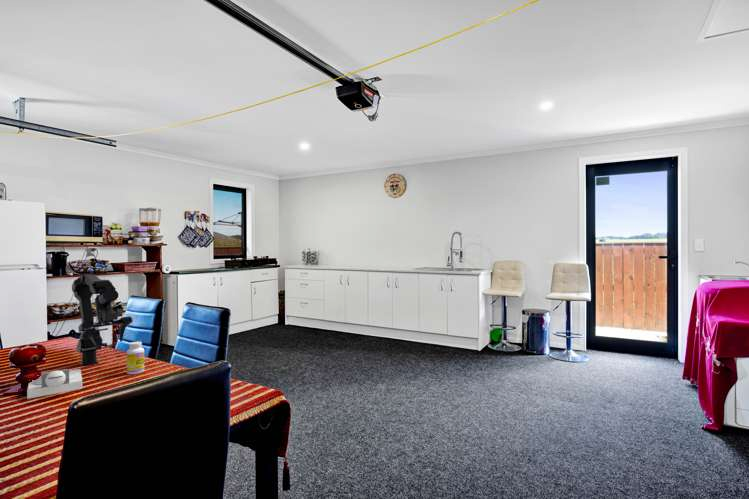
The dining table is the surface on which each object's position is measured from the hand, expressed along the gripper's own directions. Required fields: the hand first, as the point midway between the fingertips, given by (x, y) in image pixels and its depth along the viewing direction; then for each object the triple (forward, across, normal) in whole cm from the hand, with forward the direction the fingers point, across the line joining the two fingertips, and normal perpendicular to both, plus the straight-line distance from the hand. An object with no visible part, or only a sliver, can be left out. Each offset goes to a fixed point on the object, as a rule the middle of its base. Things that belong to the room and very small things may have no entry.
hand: (109, 343), depth 171 cm
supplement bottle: (+15, +8, -1) cm, 17 cm away
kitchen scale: (+12, -18, +5) cm, 23 cm away
